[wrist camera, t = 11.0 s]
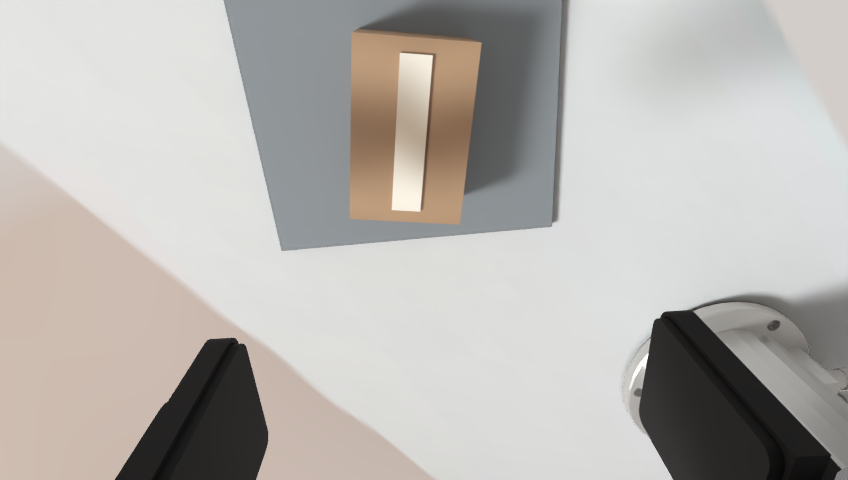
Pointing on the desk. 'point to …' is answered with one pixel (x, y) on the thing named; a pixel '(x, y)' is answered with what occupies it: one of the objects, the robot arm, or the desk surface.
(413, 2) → the slate mat
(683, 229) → the desk surface
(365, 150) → the card box
